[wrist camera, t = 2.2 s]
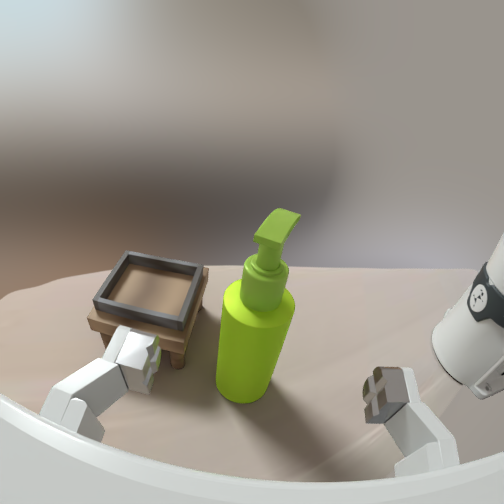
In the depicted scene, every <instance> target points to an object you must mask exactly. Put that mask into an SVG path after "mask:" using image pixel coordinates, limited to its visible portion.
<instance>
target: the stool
mask: <svg viewBox="0 0 504 504" xmlns="http://www.w3.org/2000/svg"><path fill="white" fill-rule="evenodd" d="M208 271H209V268H205V267H203V265H200V264H195V263H190V262H185V261H179V260H174V259H168V258H163V257H158V256H152V255H147V254H142V253H137V252H131V251H125V253H124V254H123V255H122V257H121V258H120V260H119V261H118V263H117V264H116V266H115V267H114V268H113V270H112V271H111V273H110V274H109V276H108V277H107V279H106V280H105V282H104V283H103V285H102V286H101V288H100V289H99V291H98V292H97V294H96V295H95V297H94V298H93V303H94V307H93V309H92V310H91V312H90V314H89V315H88V317H87V319H88V322H89V325H90V328H91V330H94V331H97V332H100V334H101V337H102V340H103V343H104V345H105V348H106V349H107V347H108V345H109V343H110V341H111V339H112V337H113V335H114V333H115V331H116V329H117V328H118V327H119V326H120V325H122V326H126V327H129V328H133V329H136V330H140V331H144V332H148V333H152V334H156V335H159V340H160V341H159V344H158V346H159V347H160V348H161V349H163V350H167V351H169V352H170V360H171V366H172V367H173V368H175V369H181V368H183V367H184V365H185V360H184V354H185V350H186V347H187V344H188V341H189V337H190V334H191V331H192V328H193V325H194V322H195V318H196V315H197V312H198V310H200V309H201V308H202V297H203V294H204V291H205V288H206V285H207V282H208Z"/></svg>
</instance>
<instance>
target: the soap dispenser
mask: <svg viewBox="0 0 504 504" xmlns="http://www.w3.org/2000/svg"><path fill="white" fill-rule="evenodd" d="M300 217H301V215H300V214H296V213H294V212H290V211H287V210H284V209H281V208H278V209H276V210H274V211H273V212H272V213H271V214H270V215H269V216H268V217H267V219H266V220H265V221H264V222H263V224H262V225H261V226H260V228H259V229H258V231H257V232H256V233H255V235H254V240H253V241H254V242H256V243H259V249H258V254H255V255H252V256H250V257H249V258H248V259H247V260H246V261H245V263H244V269H243V275H242V279H240V280H237V281H235V282H233V283H232V284H231V285H230V286H229V287H228V288H227V289H226V291H225V293H224V297H223V307H222V317H221V327H220V337H219V348H218V359H217V370H216V385H217V388H218V390H219V392H220V393H221V394H222V395H223V396H224V397H225V398H227V399H228V400H230V401H233V402H236V403H251V402H254V401H256V400H258V399H259V398H261V397H262V396H263V395H264V393H265V392H266V390H267V387H268V384H269V382H270V379H271V376H272V374H273V371H274V368H275V365H276V363H277V360H278V357H279V354H280V352H281V349H282V346H283V343H284V340H285V337H286V334H287V331H288V329H289V326H290V323H291V320H292V317H293V314H294V310H295V303H294V299H293V297H292V295H291V294H290V292H289V291H288V290H287V289H286V288H285V285H286V282H287V278H288V274H289V268H288V266H287V264H286V263H285V262H284V261H283V260H282V259H281V255H282V250H283V246H284V243H285V241H286V239H287V238H288V236H289V234H290V232H291V231H292V229H293V228H294V226H295V225H296V224H297V222H298V221H299V219H300Z"/></svg>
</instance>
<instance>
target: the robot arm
mask: <svg viewBox="0 0 504 504" xmlns="http://www.w3.org/2000/svg"><path fill="white" fill-rule="evenodd" d="M159 341H160V340H159V335H156V334H152V333H148V332H144V331H140V330H136V329H133V328H129V327H126V326H122V325H120V326H119V327H118V328H117V329H116V331H115V333H114V335H113V337H112V339H111V341H110V343H109V345H108V347H107V349H106V351H105V353H104V355H103V357H102V359H100V358H97V359H96V360H94V361H93V362H91V363H89V364H88V365H86V366H85V367H83V368H81V369H80V370H78V371H77V372H75V373H73V374H72V375H70V376H69V377H67V378H65V379H64V380H62V381H61V382H59V383H57V384H56V385H54V386H53V387H52V388H51V390H50V392H49V394H48V396H47V399H46V401H45V403H44V405H43V407H42V409H41V411H40V413H39V415H38V414H36V413H34V412H32V411H30V410H29V409H27V408H25V407H23V406H21V405H20V404H18V403H16V402H14V401H13V400H11V399H9V398H8V397H6V396H4V395H3V394H1V393H0V504H504V451H503V452H500V453H497V454H494V455H491V456H488V457H485V458H482V459H478V460H475V461H472V462H468V463H465V464H461V465H460V462H459V457H458V451H457V446H456V441H455V438H454V436H453V435H452V434H451V433H450V432H449V431H448V429H447V428H446V427H445V426H444V425H443V424H442V422H441V421H440V420H439V419H438V418H437V417H436V415H435V414H434V413H433V412H432V411H431V410H430V409H429V407H428V406H427V405H426V404H425V403H424V402H421V400H420V396H419V391H418V387H417V383H416V379H415V375H414V371H413V370H412V368H400V367H376V368H375V369H374V371H373V375H372V376H370V377H368V378H367V380H366V381H365V383H364V386H363V400H364V401H365V402H366V403H367V405H366V407H365V409H364V411H365V420H366V423H374V424H384V425H385V427H386V429H387V430H388V432H389V433H390V435H391V436H392V438H393V439H394V441H395V443H396V444H397V446H398V447H399V449H400V450H401V452H402V453H403V455H404V457H405V458H404V459H402V460H401V461H399V462H397V463H396V464H395V465H394V466H395V478H386V479H376V480H365V481H350V482H287V481H271V480H260V479H250V478H242V477H234V476H227V475H221V474H215V473H209V472H204V471H199V470H194V469H189V468H184V467H180V466H176V465H171V464H167V463H164V462H160V461H156V460H152V459H149V458H145V457H142V456H139V455H135V454H132V453H129V452H126V451H123V450H120V449H117V448H114V447H111V446H109V445H106V444H103V443H101V441H102V438H103V435H104V432H105V430H104V427H103V426H102V425H101V423H100V422H99V421H98V419H97V418H96V417H98V416H99V415H100V414H101V413H103V412H104V411H105V410H106V409H107V408H109V407H110V406H111V405H112V404H113V403H115V402H116V401H117V400H118V399H119V398H121V397H122V396H123V395H124V394H125V393H127V392H128V390H131V391H135V392H139V393H143V394H147V395H149V394H150V391H151V388H152V386H153V383H154V378H153V374H154V373H155V372H157V371H158V368H159V365H160V360H161V348H160V347H159V346H158V344H159ZM432 342H433V347H434V350H435V353H436V355H437V357H438V359H439V361H440V363H441V364H442V366H443V367H444V368H445V369H446V371H447V372H448V373H449V374H450V375H451V376H452V377H454V378H455V379H456V380H457V381H459V382H461V383H462V384H464V385H466V386H467V387H468V388H469V389H470V390H471V391H472V392H473V393H474V394H475V396H476V397H478V398H479V399H485V398H487V397H490V396H492V395H494V394H496V393H498V392H500V391H503V390H504V233H503V235H502V237H501V239H500V241H499V243H498V245H497V246H496V248H495V250H494V252H493V254H492V256H491V258H490V260H489V261H488V262H486V263H485V264H484V265H483V267H482V268H481V269H480V270H479V272H478V275H477V276H476V278H475V280H474V282H473V284H472V285H471V286H470V287H469V288H468V289H467V290H466V292H465V293H464V294H463V296H462V297H461V298H460V299H459V301H458V302H457V303H456V304H455V306H454V307H453V308H449V309H448V310H447V311H446V312H445V315H444V319H443V320H442V321H441V322H440V323H438V324H437V325H436V327H435V328H434V331H433V335H432Z"/></svg>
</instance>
